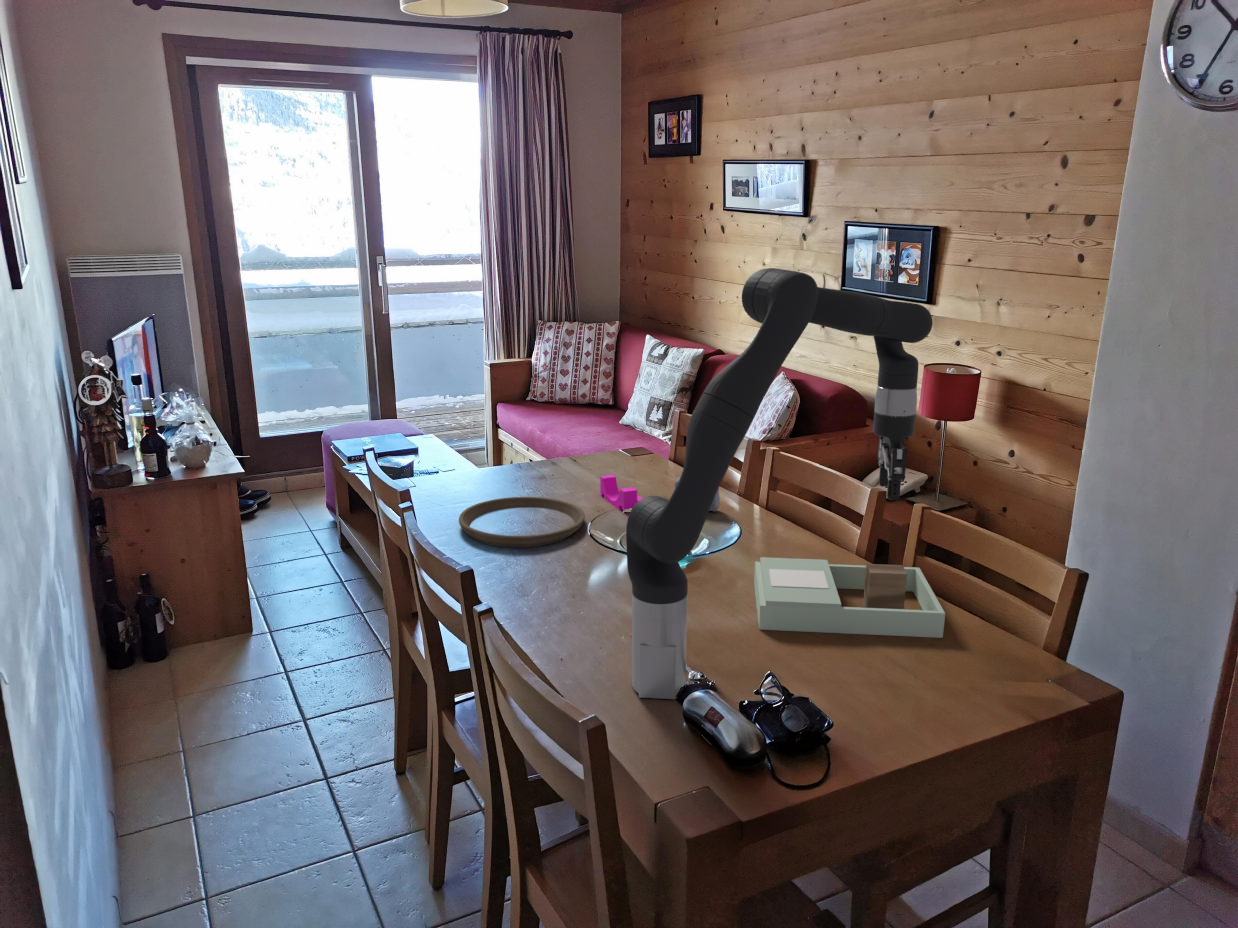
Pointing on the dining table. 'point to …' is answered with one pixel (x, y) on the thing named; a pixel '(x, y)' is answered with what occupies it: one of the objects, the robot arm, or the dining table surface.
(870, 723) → the dining table surface
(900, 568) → the wood block
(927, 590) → the box
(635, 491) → the toy block
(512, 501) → the brown flat ring
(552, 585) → the dining table surface
